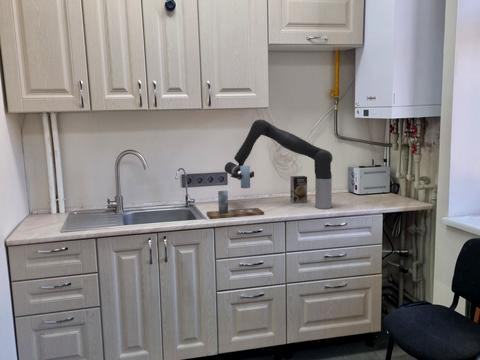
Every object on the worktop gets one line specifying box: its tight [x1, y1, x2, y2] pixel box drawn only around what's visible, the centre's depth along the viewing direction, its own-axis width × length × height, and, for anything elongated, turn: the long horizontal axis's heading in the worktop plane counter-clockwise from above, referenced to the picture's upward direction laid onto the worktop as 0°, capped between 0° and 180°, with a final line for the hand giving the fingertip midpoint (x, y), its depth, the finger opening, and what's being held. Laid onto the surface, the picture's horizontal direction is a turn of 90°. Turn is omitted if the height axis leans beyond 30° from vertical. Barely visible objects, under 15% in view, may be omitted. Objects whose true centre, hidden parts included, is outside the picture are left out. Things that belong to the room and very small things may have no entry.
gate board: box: [206, 190, 265, 220], centre depth 242 cm, size 30×12×14 cm, turn 104°
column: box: [240, 165, 251, 189], centre depth 241 cm, size 5×5×12 cm
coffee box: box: [289, 175, 308, 204], centre depth 272 cm, size 9×6×16 cm
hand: (246, 176), depth 239 cm, fingers closed on column, 5 cm apart
